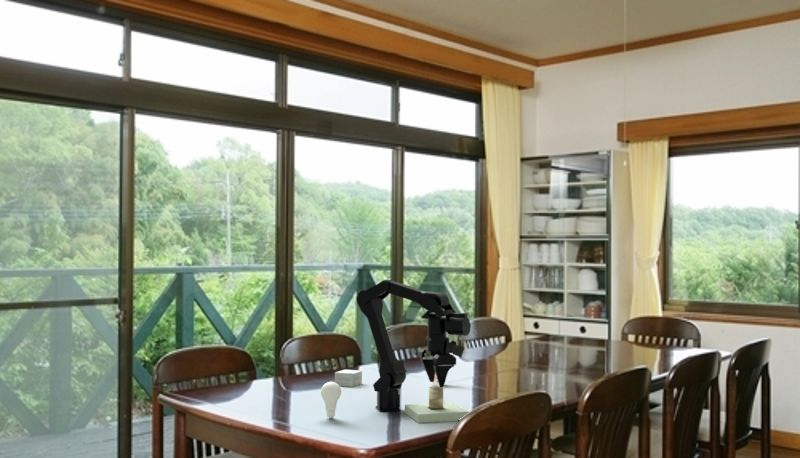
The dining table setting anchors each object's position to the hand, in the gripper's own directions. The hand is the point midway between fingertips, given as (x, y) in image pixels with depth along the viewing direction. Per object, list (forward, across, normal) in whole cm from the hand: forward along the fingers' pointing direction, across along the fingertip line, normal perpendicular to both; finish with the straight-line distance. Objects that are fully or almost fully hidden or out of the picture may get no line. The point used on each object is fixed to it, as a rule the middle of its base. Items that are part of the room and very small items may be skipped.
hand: (436, 384), depth 230 cm
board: (+10, 0, 0) cm, 10 cm away
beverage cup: (+10, +51, -18) cm, 55 cm away
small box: (+10, +59, +15) cm, 62 cm away
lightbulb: (+10, +5, +32) cm, 34 cm away
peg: (+10, 0, 0) cm, 10 cm away
